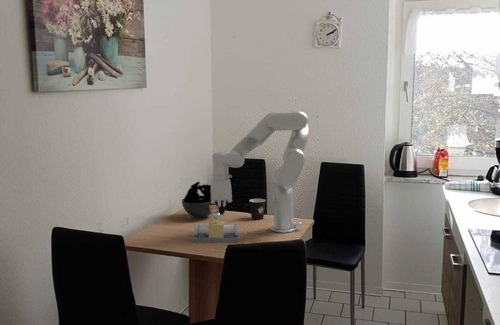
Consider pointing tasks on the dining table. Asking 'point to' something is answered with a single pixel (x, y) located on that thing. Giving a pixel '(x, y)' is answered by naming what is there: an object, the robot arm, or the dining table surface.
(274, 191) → the robot arm
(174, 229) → the dining table surface
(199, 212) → the bowl of black rocks
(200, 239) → the valve base
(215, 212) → the valve lever
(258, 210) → the coffee mug
